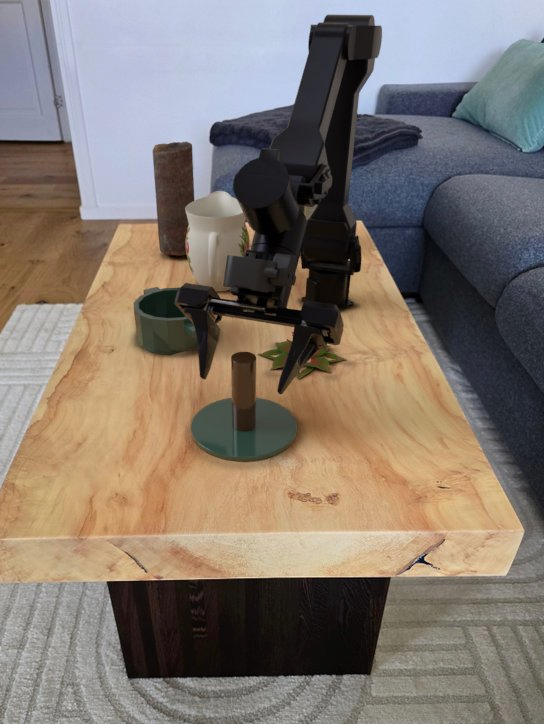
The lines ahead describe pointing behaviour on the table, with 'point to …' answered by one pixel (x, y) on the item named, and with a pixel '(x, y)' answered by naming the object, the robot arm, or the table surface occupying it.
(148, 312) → the pot
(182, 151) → the candle
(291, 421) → the lid
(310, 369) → the lily flower
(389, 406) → the table surface
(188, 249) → the pitcher
